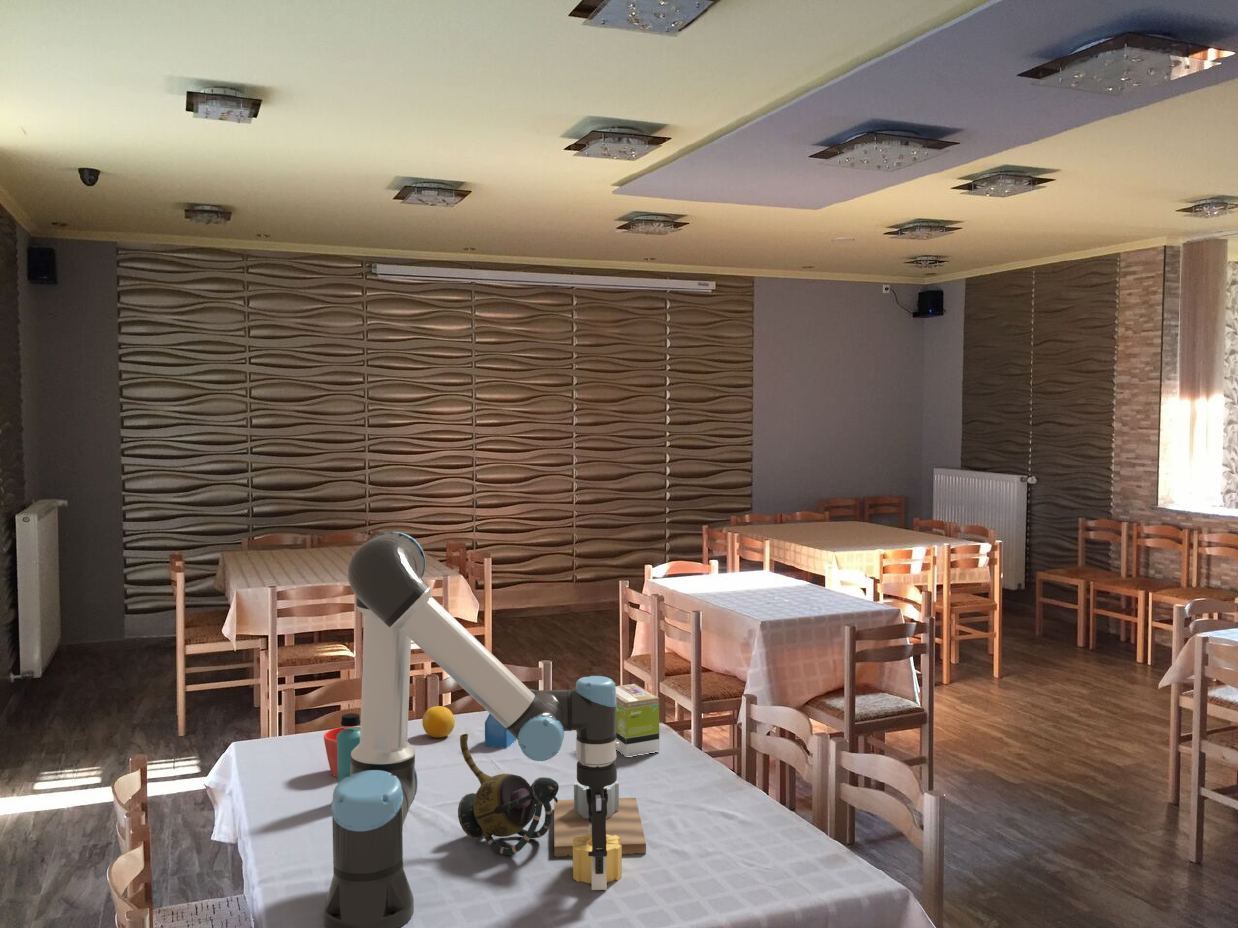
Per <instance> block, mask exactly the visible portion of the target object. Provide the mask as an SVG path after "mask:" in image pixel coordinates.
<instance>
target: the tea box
mask: <svg viewBox="0 0 1238 928" xmlns="http://www.w3.org/2000/svg"><path fill="white" fill-rule="evenodd" d="M616 703H617V722H616V742H619V744H620V747H618V748H616V750H617V751H616V752H618V751H619V752H620V753H621V754H620V753H619V752H618V753H619V754H620V755H622V754H623V755H624V756H625V757H627V756H633V755H638V754H645V753H650V752H655V751H659V752H660V742H661V741H660V697H658V696H657V695H654V694H653V693H651V692H649V691H648V690H646V689H644V688H643V687H641V686H639V685H637V684H636V683H631V684H624V685H617V686H616ZM623 755H622V756H623ZM624 756H623V757H624ZM625 757H624V758H625Z"/></svg>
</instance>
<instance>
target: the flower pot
mask: <svg viewBox="0 0 1238 928" xmlns="http://www.w3.org/2000/svg"><path fill="white" fill-rule="evenodd" d="M357 727H358V728H360V727H361V726H357ZM344 728H349V727H345V726H342V727H336V728H332V729H329V730H328V731H325V733H324V734H323V742H324V746H325V753H326V756H327V757H326V758H327V762H328V767H329V770H330V774H331V775H332V776H333V777H335V778H338V773H337V734H338V733H339V732H340V731H341V730H342V729H344Z"/></svg>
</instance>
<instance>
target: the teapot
mask: <svg viewBox="0 0 1238 928" xmlns="http://www.w3.org/2000/svg"><path fill="white" fill-rule="evenodd" d="M468 739H469V734H468V733H463V734H461V735H459V745H460V750H461V753H462V757H463V759H464V761H465V763H466V765H467V766H468V767H469V768H470V770H471V771H472V773H473V774H474V775H475V777H476V778H477V780H478V781H479V783H480V786H479V788H478V789H477V790H476V792H475V793H473V792H470V793H467V794H465V795H463V797H461V799H460V801H459V803H458V808H457V818H458V822H459V825H460V827H461V829H462V831H463V833H465V834H466V835H467V836H468V837H469V838H471V839H475V840H478V839H482V838H484V839H485V842H487V844H488V845H489V846H490V848H491V850H493V851H494V852H495V853H498V854H499V855H503V856H511V855H516V854H517V853H518V852H520V851H521V850H522V849H523V848H524V847H525V846H526V845H527V843H528V842H529V841H530V839H539V838H541V837H543V836H544V835H546V833H547V832H548V830H549V828H550V826H551V824H552V819H553V810H552V805H551V803H550V802H551V801H552V800H553V801H554V800H555V801H556V803H557V802H558V800H559V799H558V797H556V796H557V795H558V792H559V789H560V787H559V783H558V782H557V781H556V780H554V779H553V778H550V777H546V776H545V777H538V778H536V779H535V778H534V779H535V780H534V781H532V784H530V783H529V782H528V781H527V779H526V778H524V777H522V776H520V775H516V774H512V773H499V774H496V775H493V776H490V775H488V774H486V773H484V771H482V770H481V769H480V768H479V767H478V766H477V765H476V763H475V761H474V759H473V757H472V755H471V752H470V750H469V746H468V741H469V740H468ZM543 807H544V813H545V815H544V822H543V825H542V826H541V828H540V829H538V830H537V828H538V826H539V823H540V820H541V816H542V811H543ZM531 820H532V821H531ZM530 822H531V823H530ZM529 823H530V825H529V827H528V830H527V829H525V827H527V825H528V824H529ZM515 834H516V835H518V836H521V837H522V838H521V839H520V840H519V841H518V842H517V843H516V844H514V845H513V846H511V847H510V846H509V847H504V846H500V845H499V844H498V843H497V841H496V840H495V839H494V837H499V838H503V837H505V838H507V837H510V836H514V835H515ZM493 836H494V837H493Z"/></svg>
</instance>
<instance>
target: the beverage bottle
mask: <svg viewBox="0 0 1238 928" xmlns="http://www.w3.org/2000/svg"><path fill="white" fill-rule="evenodd" d="M340 721H341V722H340V726H342V727H349V728H344V729H342V730H341V731H340V732H339V733H338V734H337V773H338V777H337V784H338V783H339V782H340V781H341V780H343V779H344V778H346V777H350V769H351V752H352V750H353V749H354V748H355V747H356V746H357V745H358V744H359V743H360V728H358V727H359V725H361V715H360V714H359V713H356V712H349V713H345V714H342V715H341V719H340Z"/></svg>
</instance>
